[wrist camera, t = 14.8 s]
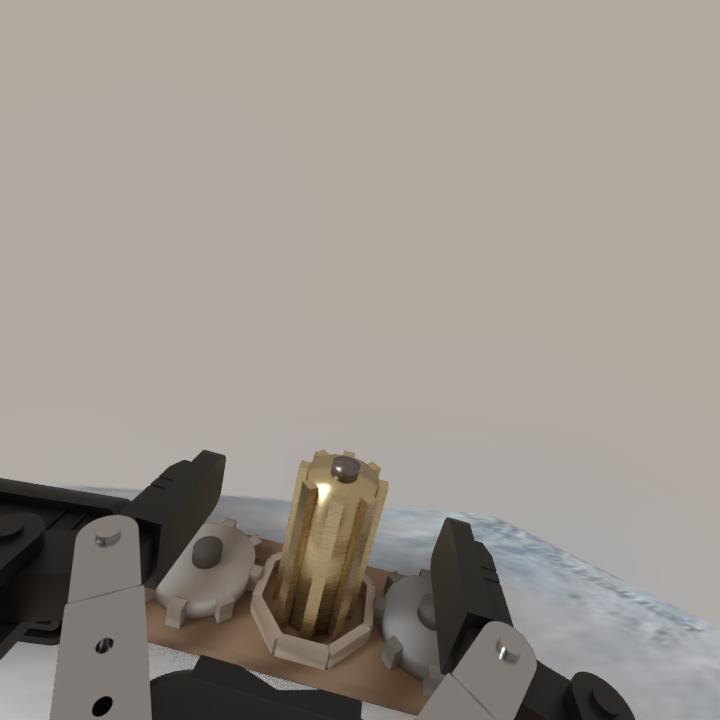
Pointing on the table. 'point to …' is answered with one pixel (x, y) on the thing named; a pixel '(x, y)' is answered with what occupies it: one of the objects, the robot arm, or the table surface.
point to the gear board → (282, 645)
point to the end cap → (55, 525)
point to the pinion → (327, 543)
